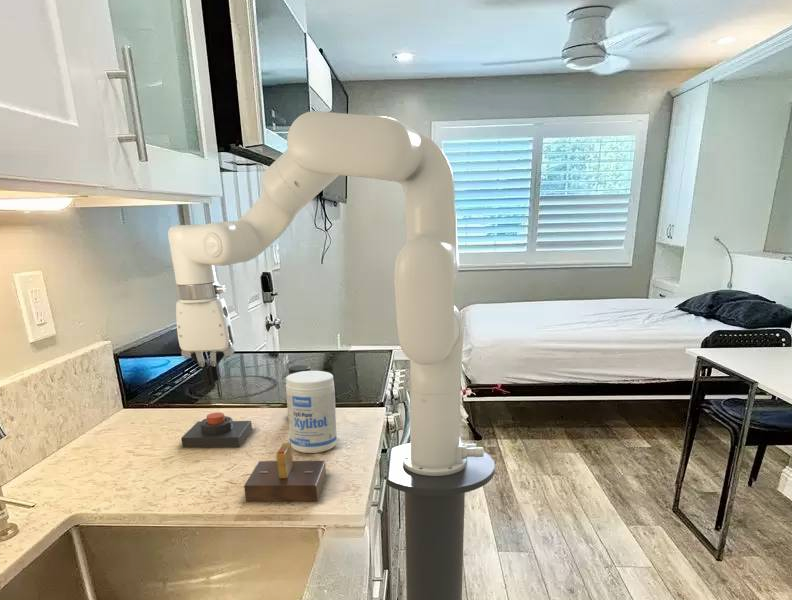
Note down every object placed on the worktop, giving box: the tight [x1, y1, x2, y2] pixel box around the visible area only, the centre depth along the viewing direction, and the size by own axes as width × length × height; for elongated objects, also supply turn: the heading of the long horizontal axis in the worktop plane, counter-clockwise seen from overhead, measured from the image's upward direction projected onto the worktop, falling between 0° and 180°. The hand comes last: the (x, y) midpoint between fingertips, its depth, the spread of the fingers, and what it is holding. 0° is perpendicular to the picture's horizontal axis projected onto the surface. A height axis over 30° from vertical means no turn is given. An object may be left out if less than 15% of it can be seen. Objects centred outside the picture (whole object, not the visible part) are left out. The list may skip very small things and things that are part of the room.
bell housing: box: [180, 415, 253, 449], centre depth 122 cm, size 12×10×4 cm
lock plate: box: [243, 460, 327, 503], centre depth 99 cm, size 12×10×3 cm
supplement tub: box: [285, 370, 338, 454], centre depth 114 cm, size 10×10×15 cm
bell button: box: [206, 412, 225, 425], centre depth 121 cm, size 4×4×2 cm
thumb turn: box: [276, 442, 294, 478], centre depth 97 cm, size 5×1×5 cm, turn 177°
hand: (213, 383), depth 118 cm, fingers closed
